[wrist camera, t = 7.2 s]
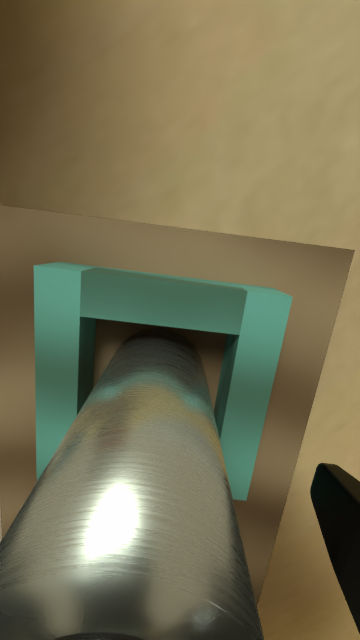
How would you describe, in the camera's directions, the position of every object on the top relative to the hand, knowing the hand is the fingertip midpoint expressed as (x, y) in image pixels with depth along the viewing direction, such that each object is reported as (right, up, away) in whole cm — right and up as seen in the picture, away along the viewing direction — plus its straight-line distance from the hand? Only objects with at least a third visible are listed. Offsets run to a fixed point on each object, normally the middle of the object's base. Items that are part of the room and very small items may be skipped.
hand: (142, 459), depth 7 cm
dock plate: (-1, -4, +7) cm, 9 cm away
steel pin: (0, +1, +5) cm, 5 cm away
